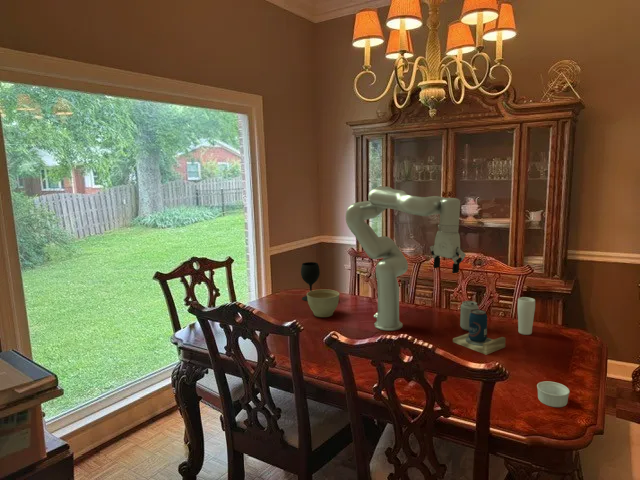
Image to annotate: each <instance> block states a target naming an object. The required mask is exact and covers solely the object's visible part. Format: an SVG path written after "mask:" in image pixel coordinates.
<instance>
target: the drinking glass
mask: <svg viewBox="0 0 640 480" xmlns="http://www.w3.org/2000/svg"><path fill="white" fill-rule="evenodd" d="M535 312H536V299H535V298H532V297H527V296H522V297H518V298H517V327H518V328H517V329H518V333H519V334H521V335H525V336H526V335H527V336H529V335H532V333H533V327H534V326H533V324H534V319H535V318H534V317H535Z"/></svg>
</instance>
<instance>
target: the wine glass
mask: <svg viewBox="0 0 640 480" xmlns="http://www.w3.org/2000/svg"><path fill="white" fill-rule="evenodd" d="M320 273H321V269H320V265H319V263H318V262H313V261H310V262H309V261H308V262H303V263H302V265H301V267H300V275H301V279H302V280H303V282H305V283H306V284H307V285H308V286H309V292H310V291H313V290H312V289H313V285H314V284H316V282H317V281H318V279H319V278H320V275H321V274H320ZM301 300H302V301H303V302H308V299H307V295H305V296H303V297H302V298H301Z"/></svg>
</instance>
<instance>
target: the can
mask: <svg viewBox="0 0 640 480" xmlns="http://www.w3.org/2000/svg"><path fill="white" fill-rule="evenodd" d="M461 303H462V304H460V314H459V316H460V317H459V318H460V319H459V321H460V322H459V323H460V324H459V325H460V328H461V329H462V330H464V331H467V332H469V314H470V313H471V310H475V309H479V306H478V302H476V301H473V300H464V301H462V302H461Z"/></svg>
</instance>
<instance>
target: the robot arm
mask: <svg viewBox="0 0 640 480" xmlns="http://www.w3.org/2000/svg"><path fill="white" fill-rule="evenodd" d="M367 195H368V196H367V197H368V200H366V201H365V200H364V201H358V202H355V203H352V204H351V205H349V206H348V208H347V209H346V213H345V221H346V225H347V227H348V228H349V230H350V232H351V233H352V234H353V236H354V237H355V239H356V240H357V241H358V243H359V244H360V246H361V247H362V249H363V251H364V252H365V254H366V255H367V256H368V258H370V259H371V260H378V259H381V260H380V261H379V262H377V264H376V266H375V276H376V282H377V312H376V313H375V314H373V318H374V319H376V321H375V322H374V327H375V328H376V329H378V330H381V331H389V332H390V331H391V332H393V331H398V330H400V329H401V328H403V322H401V321H400V287H399V282H398V279H397V278H398V277H400V276H402V275H404V274H406V272H407V271H408V269H409V263H408V260H407V258H406V257H405V255H404V254H403V252H402V251H401V249H400V248H399V246H398V245H397V244H396V242H395V241H394V240H393V239H392V238H391V237H389V236H385V235H383V236H382V235H381V236H378V235H377V233H376V232H375V231H374V229H373V227H372V226H371V225H370V224H368V223H367V222H366V221H367V220H372V219H374V218H376V217H378V216H379V215H380V214H382V213H383V212H384V211H385V210H386V209H392V210H395V211H400V212H402V213H405V214H409V215H415V216H421V217H429V216H432V215H433V216H434V215H439V223H438V224H437V228H438V230H437V232H436V235H435V238H434V245H431V246H429V249H430V253H431V255H432V258H433V269H438V268H441V257H443V258H446V259H452V262H453V263H452V274H457V273H459V271H460V264H461V263H462V262H463V261H464V258H466V256H467V254H466V253H465V252H464V251H462V249H461V236H460V233H459V228H460V226H459V225H460V214H461V212H460V211H461V200H460V199H459V198H457V197H443V196H439V195H433V196H426V197H424V196H418V195H417V196H416V195H410V194H408V193H407V192H406V191H405V190H401V189H394V188H392V187H390V186H378V187H374V188H372V189H371V190H370V191H369V192H368V194H367ZM382 258H383V259H382Z"/></svg>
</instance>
